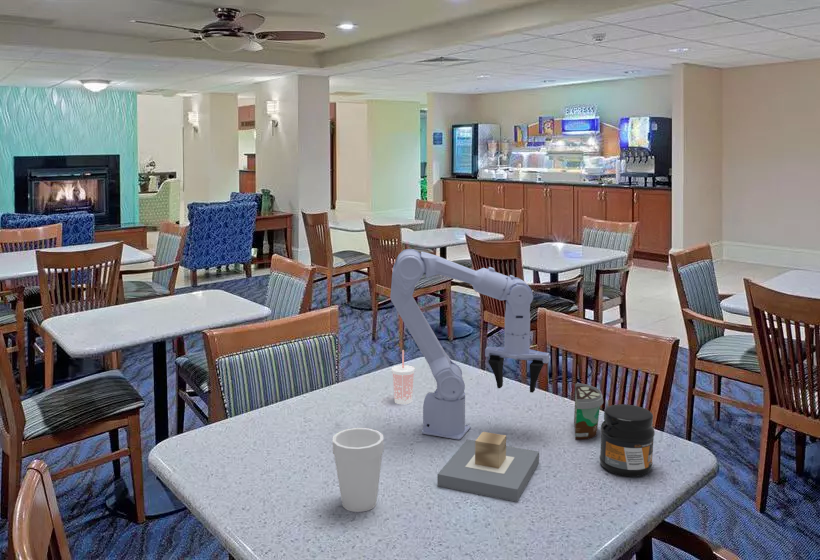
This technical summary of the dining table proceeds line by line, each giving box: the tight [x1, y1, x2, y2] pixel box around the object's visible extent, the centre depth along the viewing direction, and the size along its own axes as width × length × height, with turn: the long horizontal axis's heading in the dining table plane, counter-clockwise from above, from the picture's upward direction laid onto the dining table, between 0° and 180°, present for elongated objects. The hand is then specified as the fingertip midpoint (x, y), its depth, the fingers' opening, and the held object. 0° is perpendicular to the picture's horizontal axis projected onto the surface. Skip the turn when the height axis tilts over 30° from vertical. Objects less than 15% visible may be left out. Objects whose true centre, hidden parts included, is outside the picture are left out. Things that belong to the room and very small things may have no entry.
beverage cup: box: [390, 349, 416, 406], centre depth 180 cm, size 6×6×14 cm
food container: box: [573, 382, 604, 441], centre depth 160 cm, size 12×6×10 cm, turn 168°
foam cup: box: [332, 427, 385, 513], centre depth 128 cm, size 10×9×13 cm
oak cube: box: [474, 431, 507, 468], centre depth 140 cm, size 5×5×5 cm
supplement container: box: [599, 403, 655, 477], centre depth 142 cm, size 10×10×12 cm
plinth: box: [436, 439, 540, 502], centre depth 140 cm, size 16×18×3 cm
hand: (516, 389), depth 160 cm, fingers open, 7 cm apart
